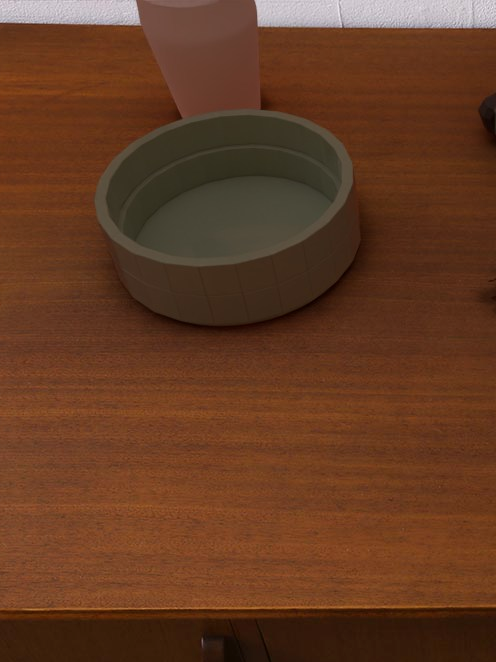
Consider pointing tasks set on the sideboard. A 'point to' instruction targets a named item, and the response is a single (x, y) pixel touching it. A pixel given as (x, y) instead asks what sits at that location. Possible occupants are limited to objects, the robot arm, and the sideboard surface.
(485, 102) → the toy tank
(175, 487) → the sideboard surface
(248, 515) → the sideboard surface
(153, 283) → the bowl
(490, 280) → the insect
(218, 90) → the cup
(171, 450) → the sideboard surface
